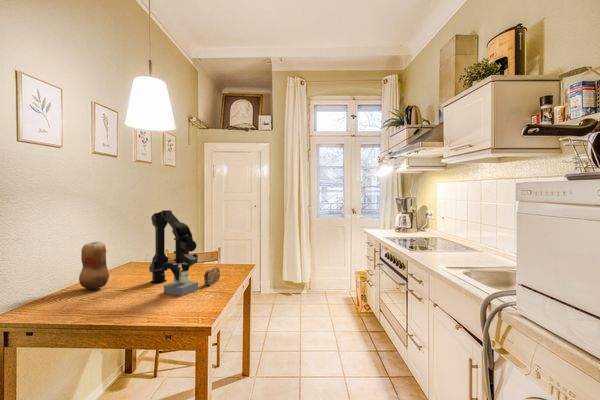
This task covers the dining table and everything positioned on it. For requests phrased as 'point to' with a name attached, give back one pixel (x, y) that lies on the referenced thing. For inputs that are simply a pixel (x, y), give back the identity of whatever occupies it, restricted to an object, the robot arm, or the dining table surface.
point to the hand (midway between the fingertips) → (181, 278)
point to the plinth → (181, 288)
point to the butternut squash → (94, 266)
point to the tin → (211, 276)
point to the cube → (182, 276)
